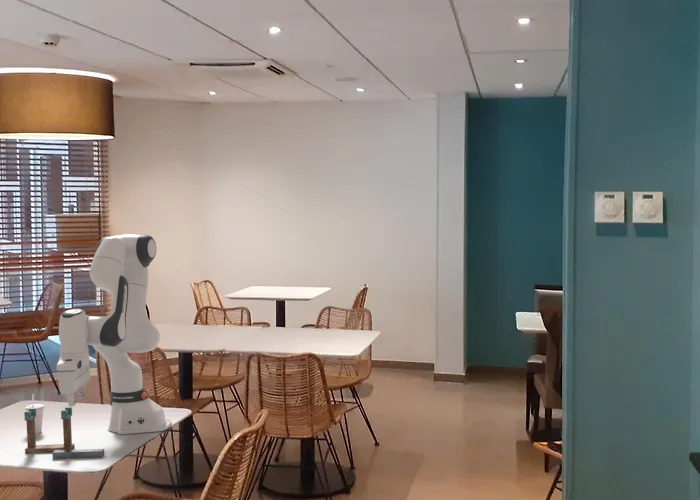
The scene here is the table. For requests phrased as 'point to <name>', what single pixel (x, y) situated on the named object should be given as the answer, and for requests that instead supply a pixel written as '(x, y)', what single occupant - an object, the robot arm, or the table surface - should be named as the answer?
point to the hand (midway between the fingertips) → (76, 401)
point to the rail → (78, 453)
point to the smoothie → (37, 414)
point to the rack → (67, 444)
